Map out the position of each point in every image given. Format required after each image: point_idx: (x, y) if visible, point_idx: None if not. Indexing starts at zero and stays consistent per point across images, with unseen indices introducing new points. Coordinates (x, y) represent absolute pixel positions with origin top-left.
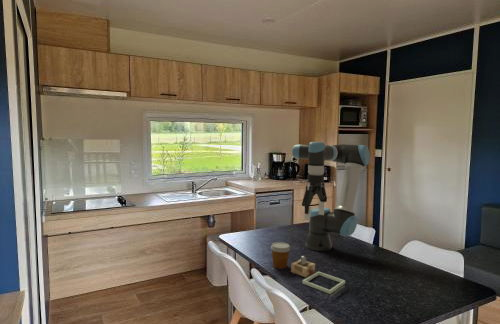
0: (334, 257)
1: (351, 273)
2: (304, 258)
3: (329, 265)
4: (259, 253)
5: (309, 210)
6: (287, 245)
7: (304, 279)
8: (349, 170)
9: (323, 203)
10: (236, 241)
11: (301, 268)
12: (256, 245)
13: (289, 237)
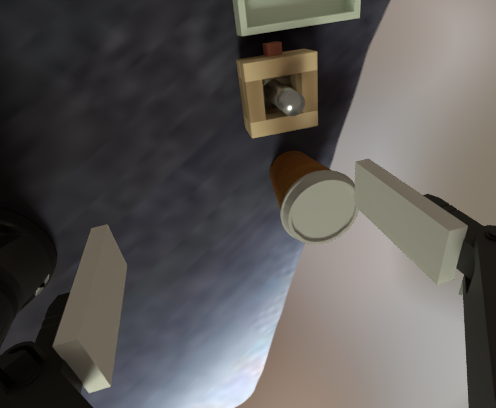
0: (2, 135)
1: None
2: (298, 92)
3: (99, 86)
4: (251, 285)
5: (435, 206)
6: (299, 201)
7: (347, 18)
8: None
9: (82, 328)
10: (241, 368)
11: (315, 74)
12: (213, 332)
13: None
